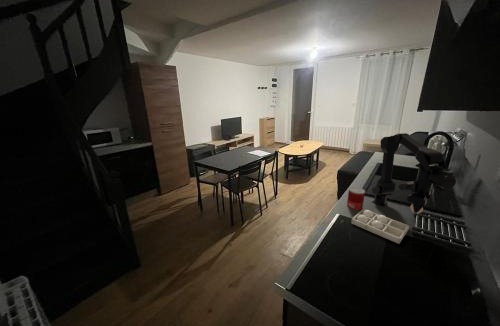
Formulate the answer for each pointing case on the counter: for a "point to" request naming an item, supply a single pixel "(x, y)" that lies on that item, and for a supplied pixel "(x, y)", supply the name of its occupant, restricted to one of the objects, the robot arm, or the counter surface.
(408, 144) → the robot arm
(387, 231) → the egg tray
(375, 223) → the white egg
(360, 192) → the canned food
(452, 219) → the counter surface
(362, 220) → the white egg
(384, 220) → the white egg
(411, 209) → the brown egg
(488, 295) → the counter surface
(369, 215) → the white egg
